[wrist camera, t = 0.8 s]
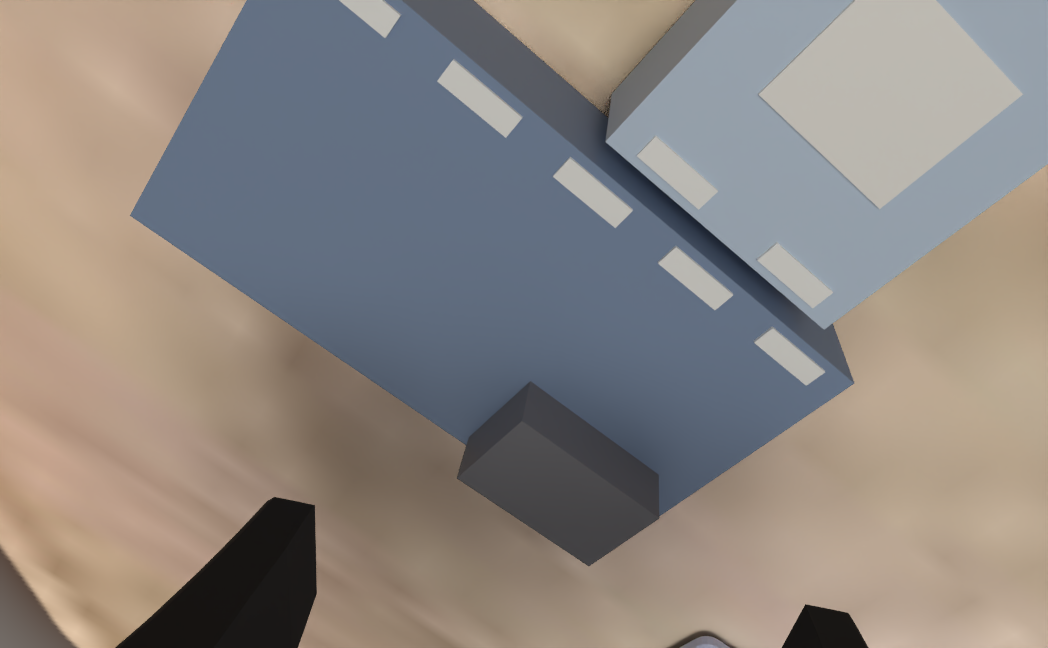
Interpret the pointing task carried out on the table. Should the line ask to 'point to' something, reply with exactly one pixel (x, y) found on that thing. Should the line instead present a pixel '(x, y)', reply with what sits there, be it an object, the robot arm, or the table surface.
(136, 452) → the table surface
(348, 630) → the table surface
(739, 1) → the light blue box
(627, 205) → the network switch box
